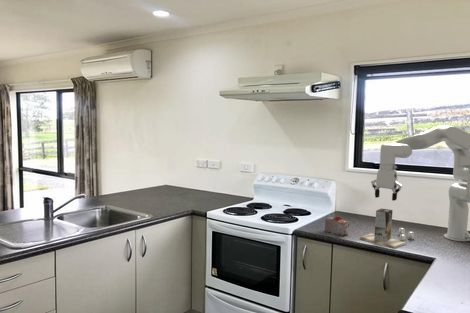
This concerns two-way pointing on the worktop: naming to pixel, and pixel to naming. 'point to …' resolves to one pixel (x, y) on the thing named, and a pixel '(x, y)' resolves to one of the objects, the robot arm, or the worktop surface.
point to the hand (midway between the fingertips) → (385, 198)
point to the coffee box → (383, 225)
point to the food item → (336, 226)
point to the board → (389, 243)
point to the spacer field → (403, 237)
